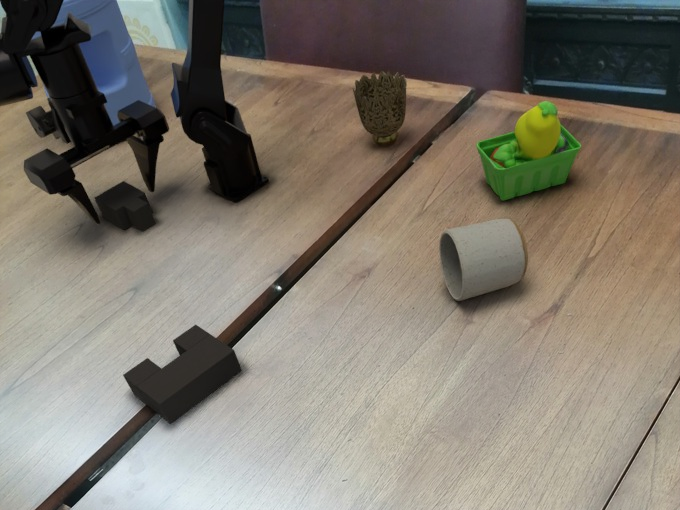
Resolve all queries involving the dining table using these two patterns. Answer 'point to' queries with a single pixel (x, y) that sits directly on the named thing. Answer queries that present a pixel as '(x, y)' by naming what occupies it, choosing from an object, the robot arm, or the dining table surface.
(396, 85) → the cup
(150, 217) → the black pad
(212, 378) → the base pad
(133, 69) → the water jug
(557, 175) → the fruit basket
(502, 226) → the ceramic mug
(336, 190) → the dining table surface
